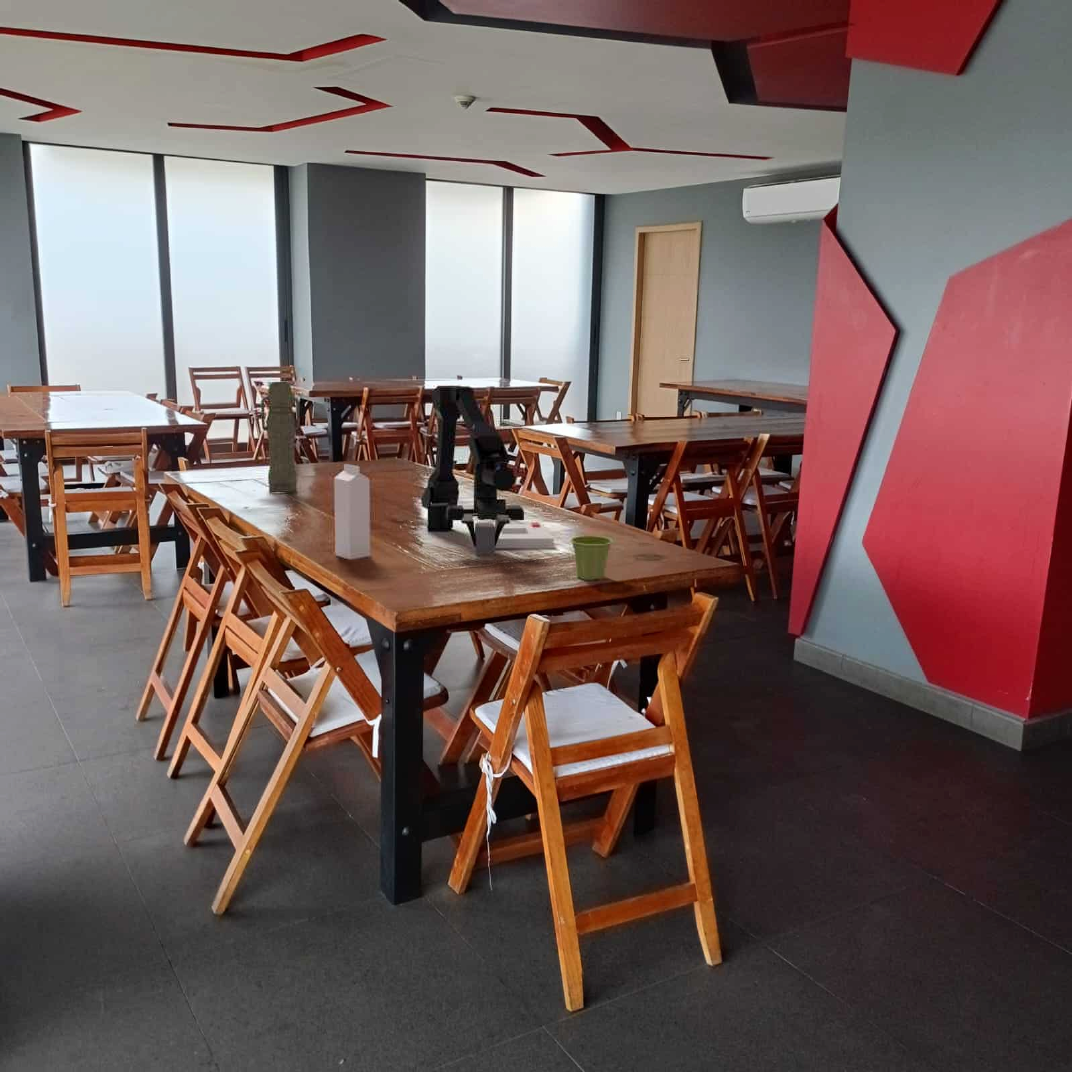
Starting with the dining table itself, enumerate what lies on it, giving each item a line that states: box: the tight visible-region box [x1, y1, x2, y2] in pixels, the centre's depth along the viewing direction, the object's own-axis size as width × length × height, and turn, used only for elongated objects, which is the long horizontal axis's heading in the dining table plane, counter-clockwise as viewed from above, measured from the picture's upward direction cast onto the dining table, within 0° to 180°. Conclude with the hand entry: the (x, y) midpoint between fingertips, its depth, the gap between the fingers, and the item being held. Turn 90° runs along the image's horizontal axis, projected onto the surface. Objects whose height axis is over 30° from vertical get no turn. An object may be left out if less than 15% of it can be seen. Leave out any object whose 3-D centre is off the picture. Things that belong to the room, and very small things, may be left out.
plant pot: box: [570, 535, 613, 581], centre depth 224 cm, size 9×9×9 cm
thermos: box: [260, 381, 301, 493], centre depth 318 cm, size 9×12×35 cm
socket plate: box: [493, 522, 554, 549], centre depth 259 cm, size 18×18×3 cm
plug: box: [474, 521, 496, 556], centre depth 244 cm, size 4×4×7 cm
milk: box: [333, 463, 371, 560], centre depth 236 cm, size 6×6×22 cm
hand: (484, 547), depth 244 cm, fingers closed on plug, 4 cm apart
